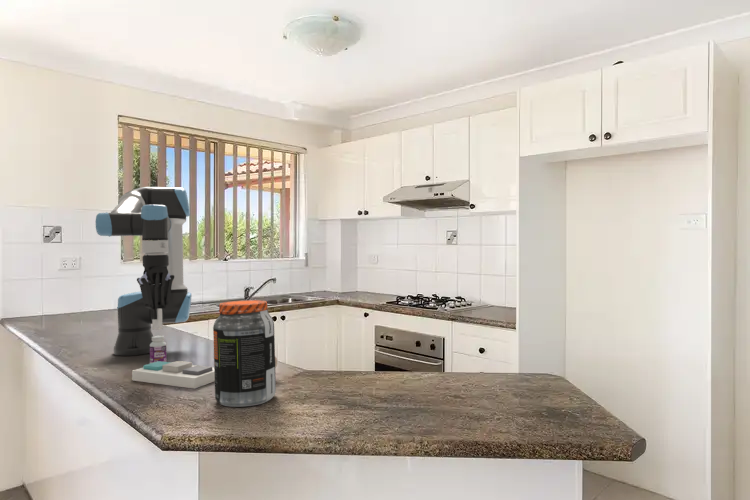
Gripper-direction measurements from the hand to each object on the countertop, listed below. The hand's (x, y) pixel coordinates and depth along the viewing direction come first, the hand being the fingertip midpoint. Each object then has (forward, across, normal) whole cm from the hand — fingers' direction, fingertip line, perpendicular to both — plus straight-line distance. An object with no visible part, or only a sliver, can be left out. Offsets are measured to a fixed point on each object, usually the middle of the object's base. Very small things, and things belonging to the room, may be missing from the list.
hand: (157, 329), depth 161 cm
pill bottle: (+16, +13, +14) cm, 24 cm away
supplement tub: (+15, -9, -41) cm, 45 cm away
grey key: (+13, 0, -8) cm, 16 cm away
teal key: (+14, 0, 0) cm, 14 cm away
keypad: (+15, 0, -8) cm, 17 cm away
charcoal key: (+14, 0, -16) cm, 21 cm away
